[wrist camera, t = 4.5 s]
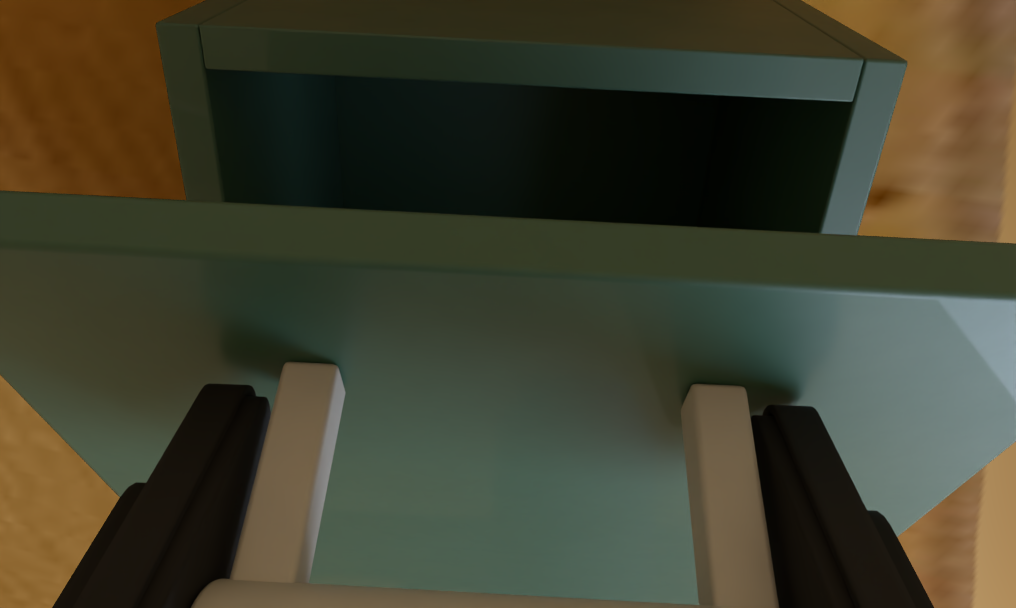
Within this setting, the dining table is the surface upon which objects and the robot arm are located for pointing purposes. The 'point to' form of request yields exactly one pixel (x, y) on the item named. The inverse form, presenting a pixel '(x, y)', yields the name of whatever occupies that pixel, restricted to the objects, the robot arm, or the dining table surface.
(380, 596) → the lid
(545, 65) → the chest
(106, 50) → the dining table surface
